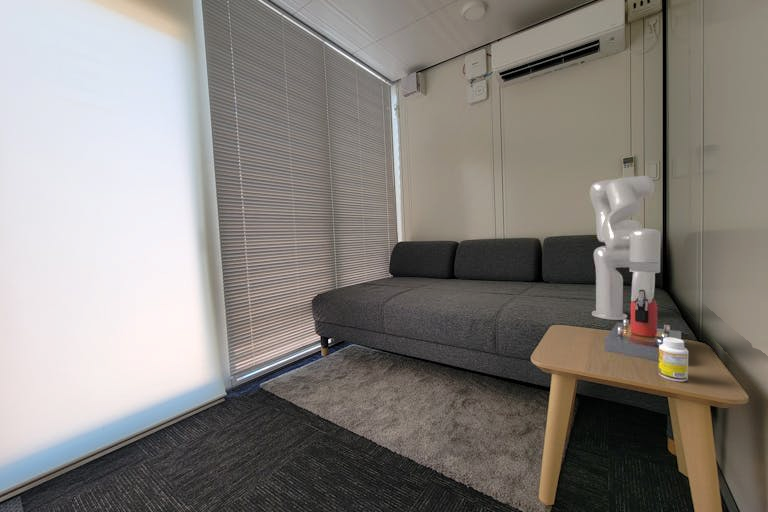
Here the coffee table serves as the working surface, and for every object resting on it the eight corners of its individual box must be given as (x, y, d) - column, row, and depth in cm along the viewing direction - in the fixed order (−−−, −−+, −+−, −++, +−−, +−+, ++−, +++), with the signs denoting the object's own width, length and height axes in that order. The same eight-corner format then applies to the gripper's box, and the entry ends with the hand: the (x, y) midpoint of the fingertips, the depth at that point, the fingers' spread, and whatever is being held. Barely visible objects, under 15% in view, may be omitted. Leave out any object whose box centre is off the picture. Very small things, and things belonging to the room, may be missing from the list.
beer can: (646, 330, 101) (646, 295, 100) (662, 337, 95) (663, 300, 94) (625, 330, 102) (626, 296, 101) (640, 337, 95) (640, 300, 95)
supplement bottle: (665, 370, 82) (665, 334, 81) (692, 379, 77) (693, 341, 76) (653, 375, 80) (654, 338, 79) (681, 384, 75) (682, 345, 74)
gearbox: (618, 330, 114) (619, 313, 114) (681, 340, 102) (681, 321, 101) (604, 350, 97) (604, 329, 97) (677, 365, 85) (677, 341, 84)
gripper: (633, 264, 105) (633, 311, 107) (625, 269, 94) (624, 323, 95) (662, 264, 100) (661, 314, 101) (657, 271, 88) (656, 327, 89)
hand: (643, 318), depth 98 cm, fingers open, 9 cm apart
